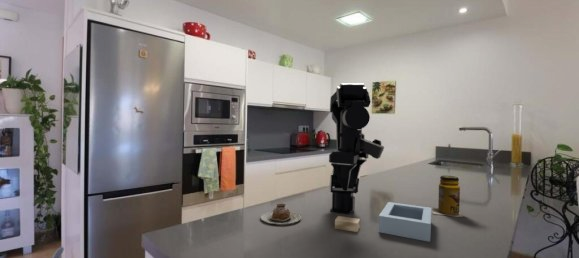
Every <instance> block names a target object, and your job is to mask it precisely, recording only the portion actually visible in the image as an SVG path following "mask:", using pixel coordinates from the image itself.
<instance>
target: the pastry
mask: <svg viewBox="0 0 579 258" xmlns="http://www.w3.org/2000/svg"><path fill="white" fill-rule="evenodd" d="M268 218H269V219H270V220H272V221H269V220H268ZM291 218H293V220H292V221H288V220H290V219H291ZM260 220H261V221H262V222H264V223H266V224H268V225H277V226H288V225H294V224H295V223H297V222H299V221H300V220H302V216H301V215H300V214H299V213H297V212H294V211H290V208H289V207H287V206H286V204H285V203H277V204H276V206H275V207H274V208H273V210H272V211H266V212H265V213H264V212H263V213H262V214H261V215H260ZM273 221H275V222H273ZM287 221H288V222H287Z"/></svg>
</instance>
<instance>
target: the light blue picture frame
mask: <svg viewBox="0 0 579 258" xmlns="http://www.w3.org/2000/svg"><path fill="white" fill-rule="evenodd" d="M429 207H430V206H429ZM429 207H427V206H419V205H413V204H407V203H405V204H404V203H399V202H393V201H387V203H386V205H385V206H384V208H383V209H382V211H380V213H379V215H378V233H381V234H386V235H392V236H398V237H403V238H408V239H413V240H418V241H419V240H420V241H424V242H429V243H430V242H431V234H432V233H431V231H432V211H431V208H432V207H430V208H429Z"/></svg>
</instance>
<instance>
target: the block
mask: <svg viewBox="0 0 579 258" xmlns="http://www.w3.org/2000/svg"><path fill="white" fill-rule="evenodd" d="M360 227H361V219H360V218H356V217H355V218H354V217H346V216H342V215H341V216H340V215H337V217H336V218H335V220H334V229H335V230H336V229H337V230H343V231H348V232H349V231H350V232H355V233H358V232H359V230H360Z"/></svg>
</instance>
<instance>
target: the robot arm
mask: <svg viewBox="0 0 579 258" xmlns="http://www.w3.org/2000/svg"><path fill="white" fill-rule="evenodd" d="M370 105H371V97H370V93H369V91H368V88H367V87H365V84H364V83H359V82H357V83H353V82H352V83H351V82H349V83H342V82H341V83H340V84H339V85H338V86H336V91H335V92H334V93H333V94H332V95H331V96H330V102H329V113H330V114H331V119H332V121H333V122H334V123H335V125H336V126H335V128H336V129H335V130H336V131H335V132H336V133H335V134H336V137H335V138H336V150H334V151H332V152H331V153H330V154H329V155H328V162H329V163H330V165H331V166H332V173H330V177H329V178H330V179H329V191H330V193H332V195H331V201H332V202H331V208H330V212H335V213H341V214H352V213H353V211H354V210H355V209H356V208H355V207H356V205H355V204H356V197H355V196H354V194H358V192H359V183H360V179H359V174H360V171H361V167H362V165H364V163H366V162H367V160H368V159H369V156H371V157H372V158H373V159H377V160H378V159H379V158H380V159H381V157H382V153H383V152H384V149H385V147H384V145H382V141H381V140H379V139H376V138H375V139H374V140H372V141H371V140H368V139H366V138H365V134H364V133H363V130H362V129H364V128H366V127H367V126H368V124H369V122H370V119H371V118H370V112H369V111H368V109H366V108H369V107H370Z"/></svg>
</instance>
